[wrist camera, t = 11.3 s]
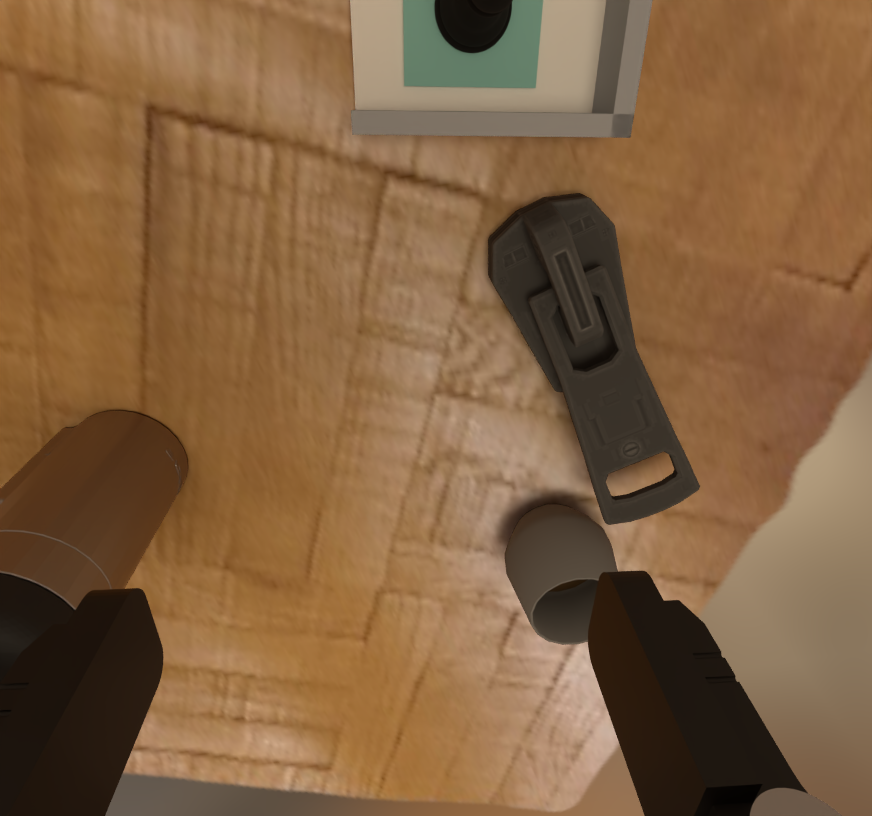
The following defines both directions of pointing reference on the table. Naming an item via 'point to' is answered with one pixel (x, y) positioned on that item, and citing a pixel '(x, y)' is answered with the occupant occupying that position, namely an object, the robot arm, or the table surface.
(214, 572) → the table surface
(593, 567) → the cup
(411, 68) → the pad
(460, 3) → the chess piece
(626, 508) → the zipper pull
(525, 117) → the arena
